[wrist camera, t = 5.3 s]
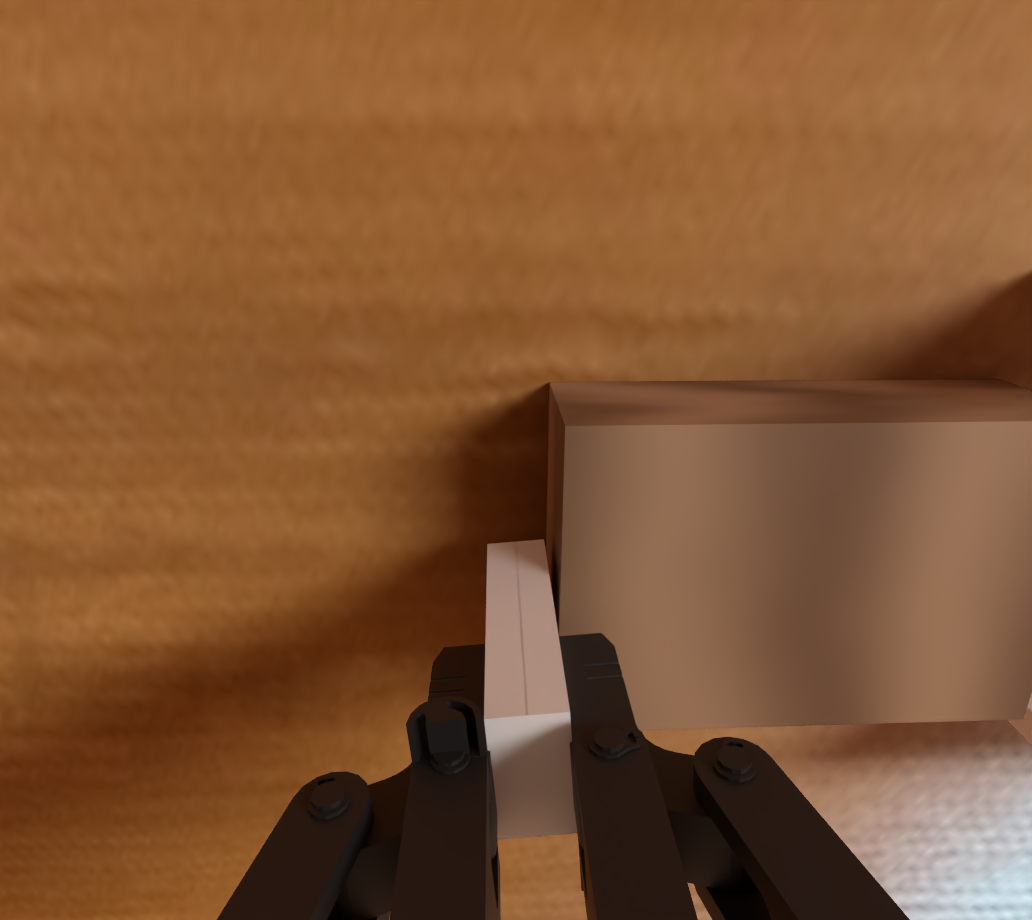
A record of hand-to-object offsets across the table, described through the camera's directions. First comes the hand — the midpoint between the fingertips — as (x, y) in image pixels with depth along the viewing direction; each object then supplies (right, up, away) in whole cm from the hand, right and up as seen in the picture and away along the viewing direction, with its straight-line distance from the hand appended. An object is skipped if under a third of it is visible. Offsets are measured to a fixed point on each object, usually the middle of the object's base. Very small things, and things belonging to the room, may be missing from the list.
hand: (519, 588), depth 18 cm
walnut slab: (+7, +2, +2) cm, 7 cm away
